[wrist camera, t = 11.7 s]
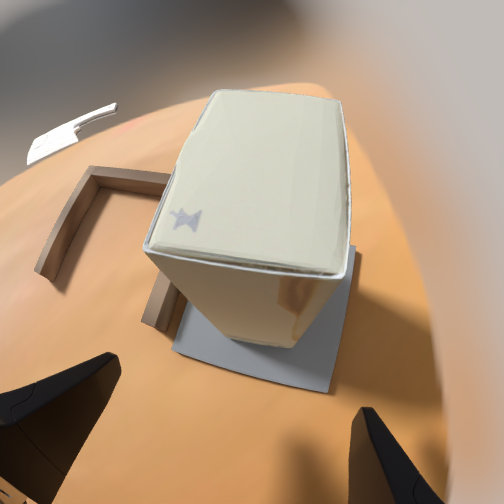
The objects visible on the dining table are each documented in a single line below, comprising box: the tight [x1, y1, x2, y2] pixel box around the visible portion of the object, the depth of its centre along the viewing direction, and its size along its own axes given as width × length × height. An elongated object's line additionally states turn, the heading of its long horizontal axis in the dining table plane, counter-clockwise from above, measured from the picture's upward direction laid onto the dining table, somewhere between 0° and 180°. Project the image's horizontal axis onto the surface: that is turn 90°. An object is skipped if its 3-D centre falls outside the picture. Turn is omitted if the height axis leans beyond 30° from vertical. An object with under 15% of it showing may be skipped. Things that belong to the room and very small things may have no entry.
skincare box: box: [143, 89, 352, 348], centre depth 12 cm, size 6×4×12 cm
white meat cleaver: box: [27, 103, 118, 165], centre depth 28 cm, size 5×15×1 cm, turn 99°
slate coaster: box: [171, 245, 356, 393], centre depth 18 cm, size 10×10×1 cm
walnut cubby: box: [34, 166, 180, 332], centre depth 20 cm, size 11×13×2 cm
